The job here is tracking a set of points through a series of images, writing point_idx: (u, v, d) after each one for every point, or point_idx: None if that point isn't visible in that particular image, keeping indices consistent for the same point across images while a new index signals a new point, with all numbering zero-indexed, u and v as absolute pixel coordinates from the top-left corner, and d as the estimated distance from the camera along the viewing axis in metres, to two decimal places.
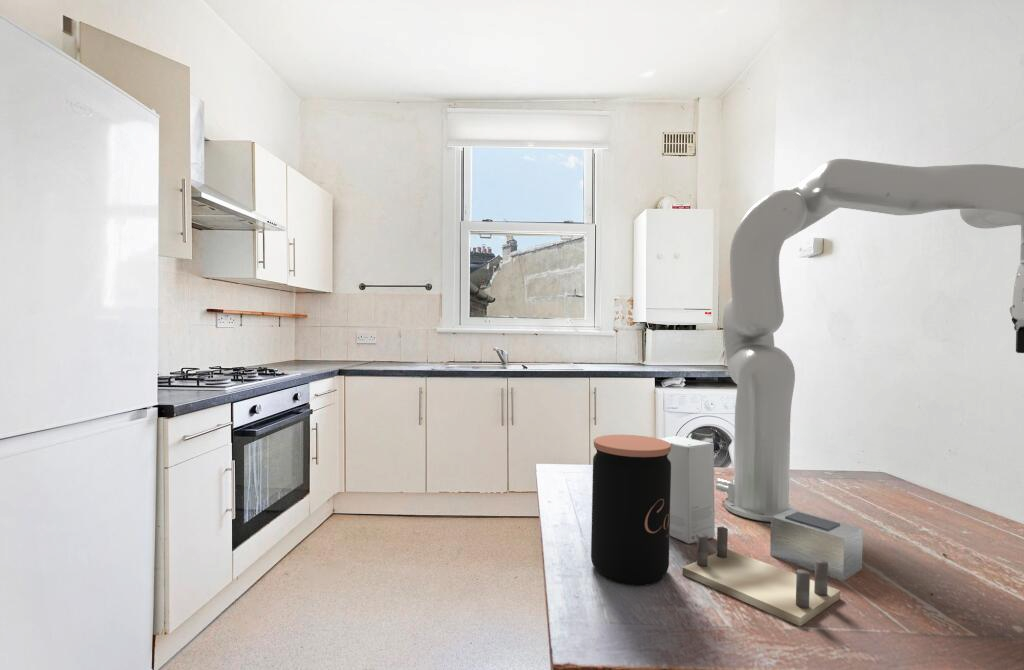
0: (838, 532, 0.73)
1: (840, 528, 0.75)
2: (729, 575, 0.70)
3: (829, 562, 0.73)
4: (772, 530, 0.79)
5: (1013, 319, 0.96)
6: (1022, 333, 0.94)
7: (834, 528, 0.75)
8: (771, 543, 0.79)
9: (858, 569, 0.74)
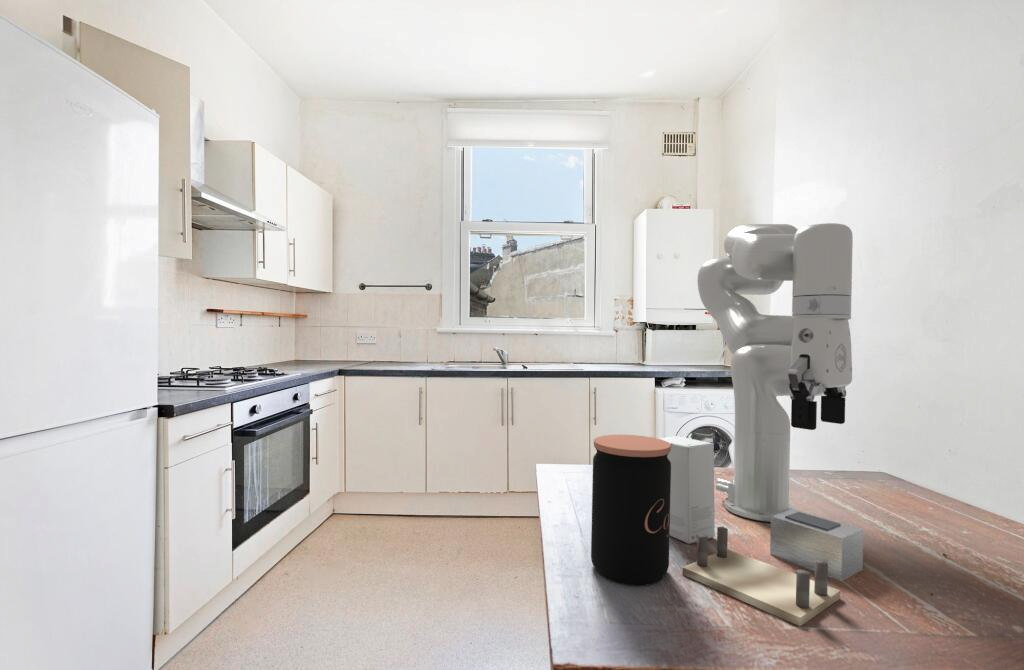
0: (837, 532, 0.73)
1: (840, 528, 0.75)
2: (729, 575, 0.70)
3: (828, 562, 0.73)
4: (772, 529, 0.79)
5: (804, 386, 0.72)
6: None
7: (834, 528, 0.75)
8: (771, 542, 0.79)
9: (858, 570, 0.74)
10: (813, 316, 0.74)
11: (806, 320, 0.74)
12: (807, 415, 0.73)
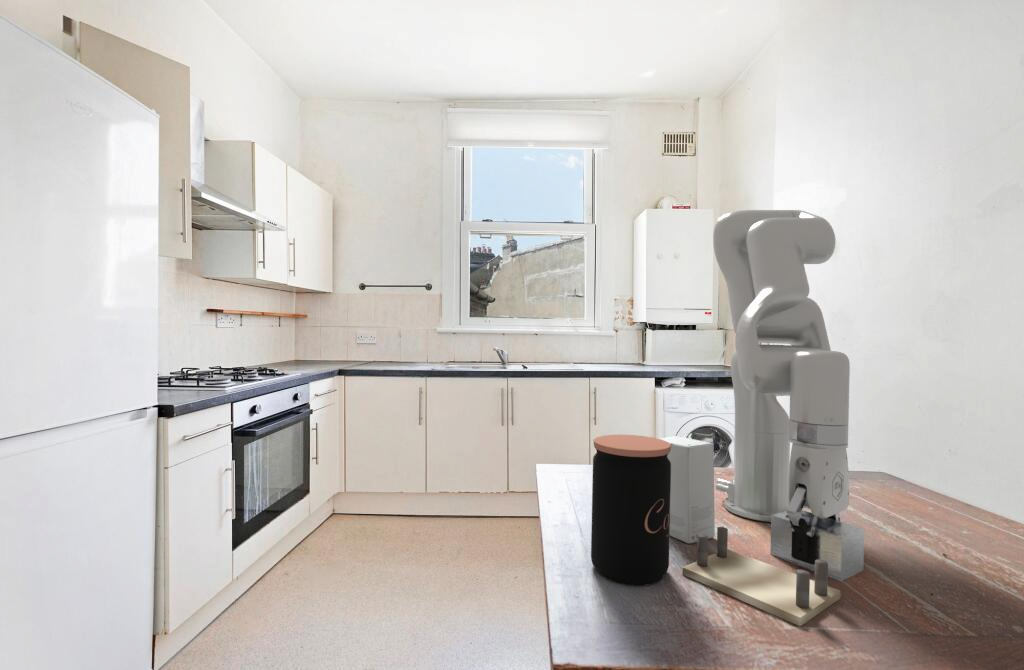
0: (837, 532, 0.73)
1: (840, 527, 0.75)
2: (729, 575, 0.70)
3: (828, 561, 0.72)
4: (772, 528, 0.79)
5: (804, 523, 0.73)
6: None
7: (834, 527, 0.75)
8: (771, 541, 0.79)
9: (859, 569, 0.74)
10: (810, 445, 0.74)
11: (803, 449, 0.74)
12: (807, 550, 0.74)
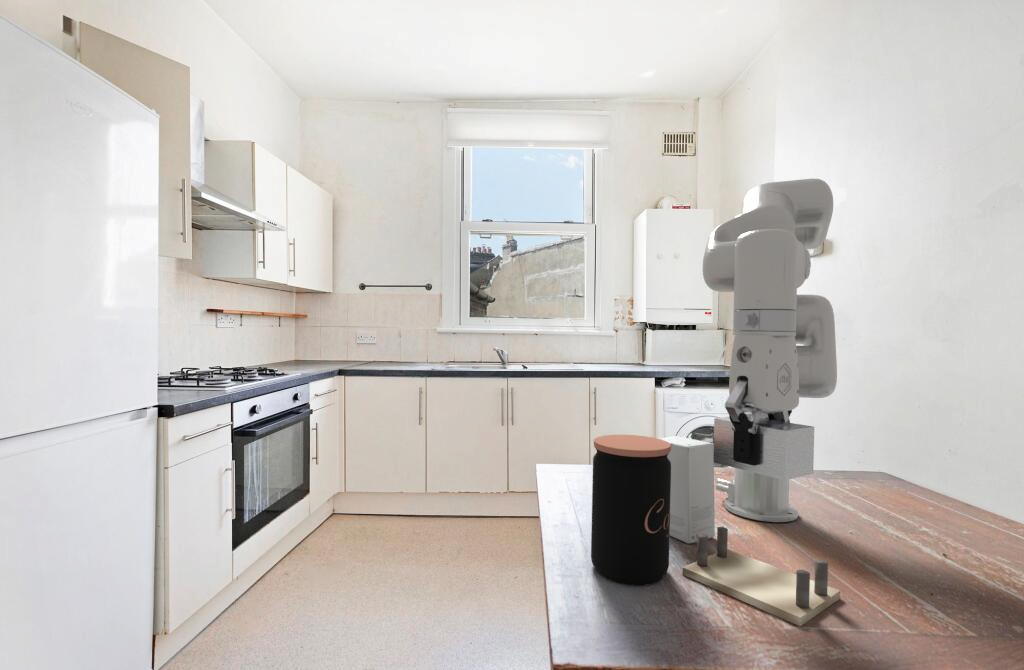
0: (782, 428, 0.65)
1: (787, 425, 0.67)
2: (729, 575, 0.70)
3: (771, 460, 0.65)
4: (715, 433, 0.71)
5: (745, 418, 0.65)
6: None
7: (780, 425, 0.67)
8: (714, 448, 0.71)
9: (808, 471, 0.66)
10: (753, 333, 0.66)
11: (745, 337, 0.66)
12: (749, 449, 0.66)
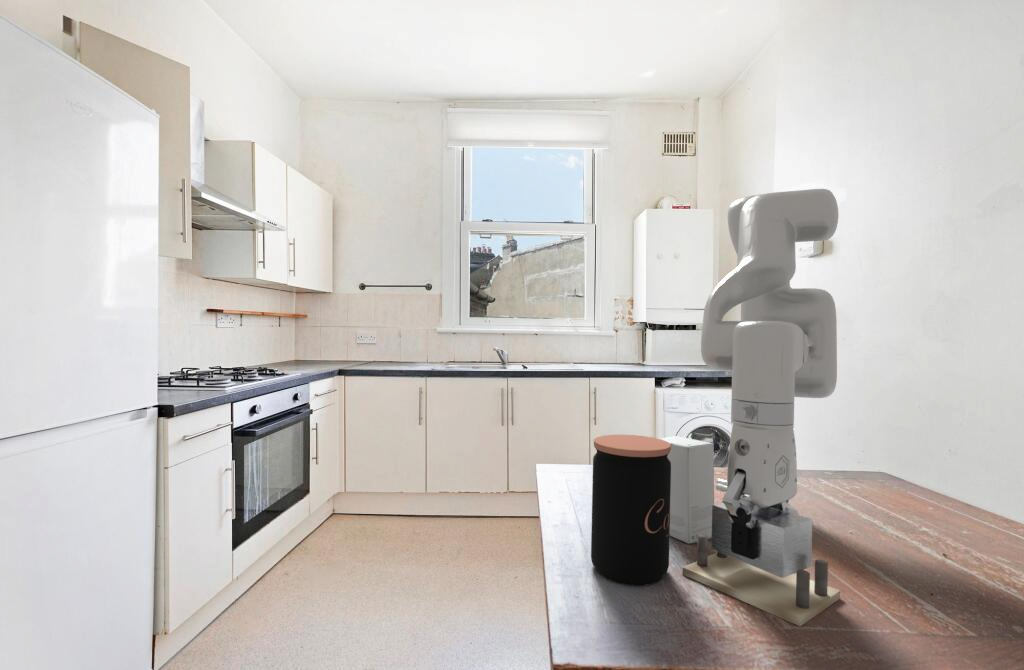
0: (780, 522, 0.65)
1: (785, 518, 0.67)
2: (729, 575, 0.70)
3: (769, 556, 0.64)
4: (713, 520, 0.71)
5: (743, 512, 0.65)
6: None
7: (778, 518, 0.67)
8: (712, 534, 0.71)
9: (806, 565, 0.66)
10: (751, 425, 0.66)
11: (743, 430, 0.67)
12: (747, 543, 0.66)
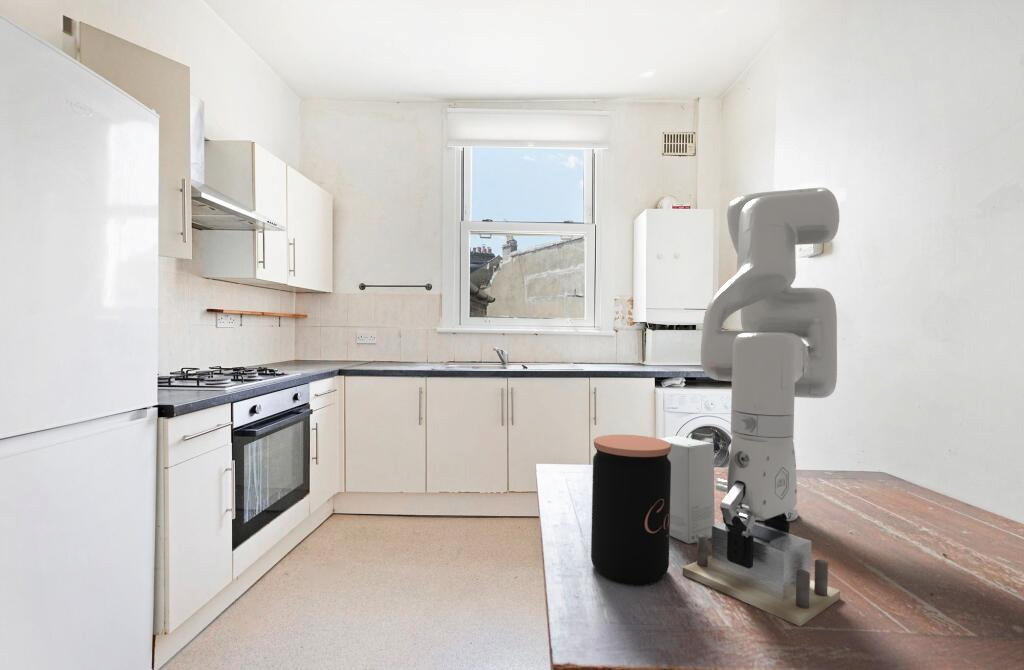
0: (780, 545, 0.65)
1: (785, 540, 0.67)
2: None
3: (770, 579, 0.65)
4: (713, 541, 0.71)
5: (738, 521, 0.64)
6: None
7: (778, 540, 0.67)
8: (712, 555, 0.71)
9: None
10: (750, 437, 0.66)
11: (742, 442, 0.67)
12: (743, 551, 0.65)
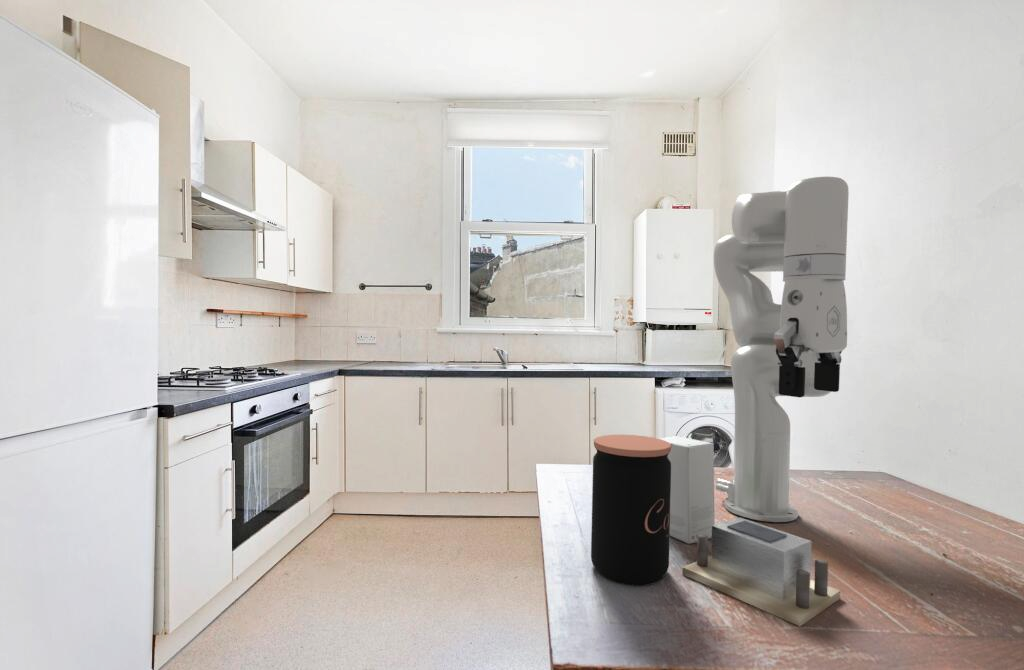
0: (780, 545, 0.65)
1: (785, 540, 0.67)
2: None
3: (770, 579, 0.65)
4: (713, 541, 0.71)
5: (791, 351, 0.68)
6: None
7: (778, 540, 0.67)
8: (712, 555, 0.71)
9: None
10: (803, 277, 0.70)
11: (796, 281, 0.70)
12: (795, 382, 0.69)
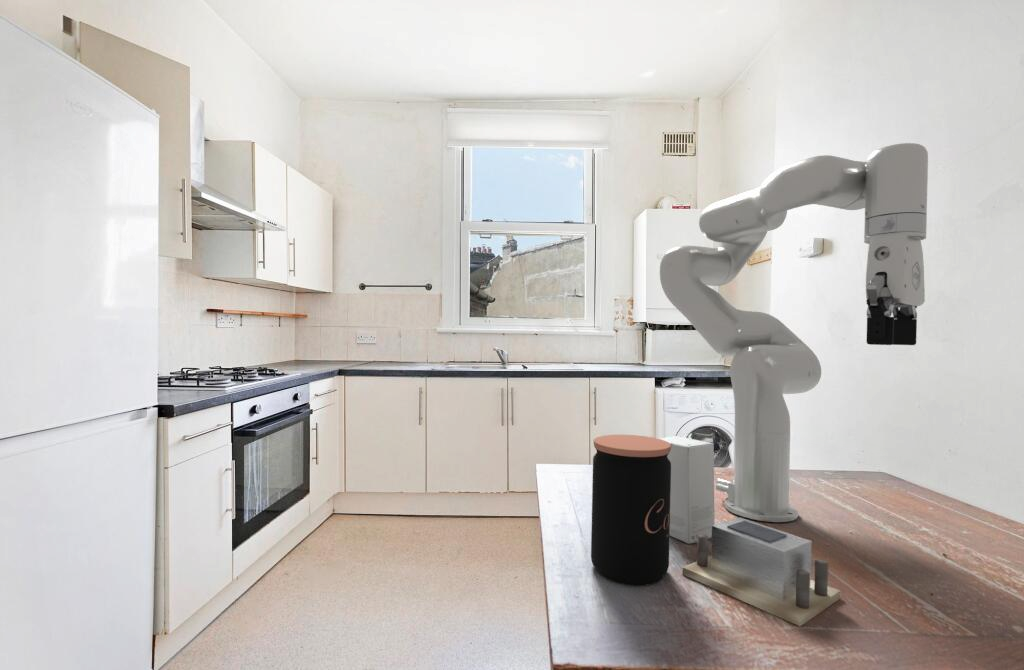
0: (780, 545, 0.65)
1: (785, 540, 0.67)
2: None
3: (770, 579, 0.65)
4: (713, 541, 0.71)
5: (882, 301, 0.73)
6: None
7: (778, 540, 0.67)
8: (712, 555, 0.71)
9: None
10: (889, 234, 0.76)
11: (882, 238, 0.76)
12: (884, 330, 0.74)
